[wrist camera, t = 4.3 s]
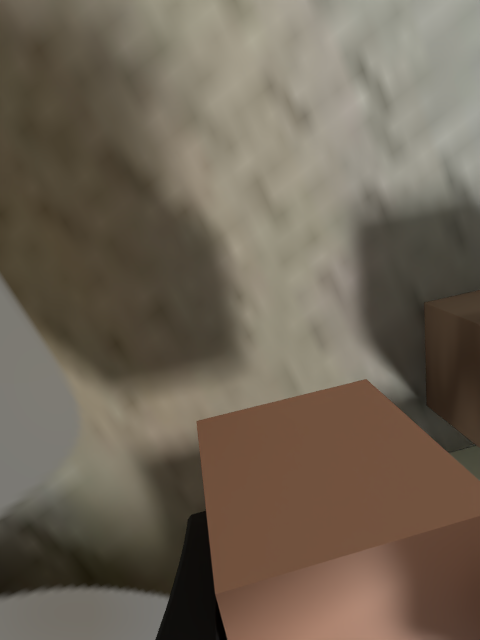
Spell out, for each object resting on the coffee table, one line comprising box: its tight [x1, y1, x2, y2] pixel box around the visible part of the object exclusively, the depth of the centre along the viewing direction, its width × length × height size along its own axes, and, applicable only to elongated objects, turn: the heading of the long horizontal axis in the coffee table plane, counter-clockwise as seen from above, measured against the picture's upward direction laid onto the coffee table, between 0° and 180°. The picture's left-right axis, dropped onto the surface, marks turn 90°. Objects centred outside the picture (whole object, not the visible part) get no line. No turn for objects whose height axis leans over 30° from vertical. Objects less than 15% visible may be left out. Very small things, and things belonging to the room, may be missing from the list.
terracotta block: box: [197, 379, 480, 640], centre depth 9 cm, size 5×5×5 cm
